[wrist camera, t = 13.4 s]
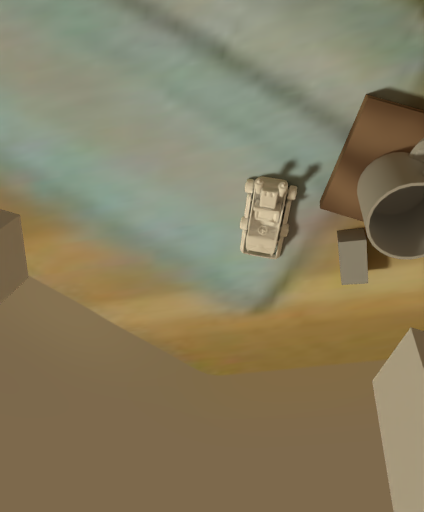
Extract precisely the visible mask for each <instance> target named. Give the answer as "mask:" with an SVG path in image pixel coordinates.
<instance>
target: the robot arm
mask: <svg viewBox="0 0 424 512" xmlns="http://www.w3.org/2000/svg"><path fill="white" fill-rule="evenodd" d="M27 278H28V271H27V263H26V256H25V249H24V242H23V234H22V227H21V220H20V215H18V214H15V213H12V212H8V211H5V210H1V209H0V304H1V303H2V302H3V301H4V300H5V299H6V298H7V297H8V296H9V295H11V294H12V293H13V292H14V291H15V290H16V289H17V288H18V287H19V286H20V285H21V284H22V283H23V282H24V281H25V280H26V279H27ZM372 382H373V388H374V394H375V400H376V407H377V413H378V419H379V425H380V431H381V437H382V443H383V449H384V456H385V462H386V468H387V474H388V480H389V486H390V492H391V498H392V504H393V511H394V512H424V331H421V330H418V329H414V328H410V329H409V331H408V332H407V333H406V335H405V336H404V338H403V339H402V340H401V342H400V343H399V345H398V346H397V347H396V349H395V350H394V352H393V353H392V354H391V356H390V357H389V358H388V360H387V361H386V363H385V364H384V365H383V367H382V368H381V370H380V371H379V372H378V374H377V375H376V377H375V378H374V379H373V381H372Z"/></svg>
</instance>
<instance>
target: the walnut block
mask: <svg viewBox="0 0 424 512" xmlns="http://www.w3.org/2000/svg"><path fill="white" fill-rule="evenodd" d="M423 138H424V110H420V109H417V108H413V107H409V106H406V105H402V104H399V103H395V102H392V101H388V100H385V99H381V98H378V97H374V96H371V95H367V94H366V96H365V98H364V100H363V103H362V105H361V107H360V110H359V112H358V114H357V116H356V119H355V121H354V123H353V126H352V128H351V130H350V133H349V135H348V137H347V140H346V142H345V144H344V147H343V149H342V151H341V154H340V156H339V158H338V160H337V163H336V165H335V167H334V170H333V172H332V174H331V177H330V179H329V181H328V184H327V186H326V188H325V191H324V193H323V195H322V198H321V200H320V208H321V209H324V210H328V211H331V212H334V213H337V214H341V215H344V216H347V217H350V218H354V219H357V220H360V221H363V222H364V220H363V216H362V212H361V208H360V204H359V200H358V195H357V186H358V181H359V178H360V176H361V174H362V172H363V171H364V170H365V168H366V167H367V166H368V165H369V164H370V163H372V162H373V161H374V160H376V159H377V158H379V157H381V156H383V155H386V154H390V153H393V152H406V153H411V151H412V150H413V148H414V147H415V146H416V145H417V144H418V142H419V141H421V140H422V139H423Z"/></svg>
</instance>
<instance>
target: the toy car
mask: <svg viewBox="0 0 424 512" xmlns="http://www.w3.org/2000/svg"><path fill="white" fill-rule="evenodd" d="M253 190H254V193H253ZM245 192H247V193H248V195H247V200H246V208H245V214H244V216H243V217H242V219H241V221H240V229H243V231H242V239H241V246H240V250H241V251H242V253H245V254H249V255H254V256H260V257H265V258H271V259H277V258H278V257H279V256H280V253H281V248H282V244H283V239H284V237H287V234H288V232H289V224H287V221H288V216H289V211H290V207H291V202H292V200H295V198H296V195H297V186H293V185H290V187H289V189H288V183H287V181H286V180H283V179H276V178H270V177H263V176H260V177H258V178H257V179H256V180H255V182H254V179H247V182H246V184H245ZM252 194H253V199H252ZM287 194H288V195H287ZM286 195H287V202H286V205H285V199H286ZM251 201H252V205H251ZM284 206H286V207H285V212H284V217H283V220H282V215H283V210H284ZM250 208H251V213H250ZM249 216H250V219H249ZM281 221H283V223H282V227H280V225H281ZM247 229H248V232H247ZM279 231H280V233H279ZM278 234H279V235H280V237H279V241H277V240H278ZM245 241H246V249H244V247H245ZM277 243H278V246H277V251H276V255H274V254H273V253H274V252H275V249H276V245H277Z"/></svg>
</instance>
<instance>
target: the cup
mask: <svg viewBox="0 0 424 512" xmlns="http://www.w3.org/2000/svg"><path fill="white" fill-rule="evenodd" d="M357 195H358V200H359V204H360V208H361V212H362V216H363V220H364V224H365V228H366V232H367V236H368V239H369V240H370V242H371V244H372V245H373V246H374V247H375V248H376V249H377V250H378V251H379V252H381V253H383V254H385V255H387V256H389V257H393V258H397V259H416V258H421V257H424V138H423V139H422V140H421V141H419V142H418V144H417V145H416V146H415V147H414V148H413V150H412V151H411V153H406V152H393V153H390V154H386V155H383V156H381V157H379V158H377V159H376V160H374V161H373V162H372V163H370V164H369V165H368V166H367V167H366V168H365V170H364V171H363V172H362V174H361V176H360V178H359V181H358V186H357Z"/></svg>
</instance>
